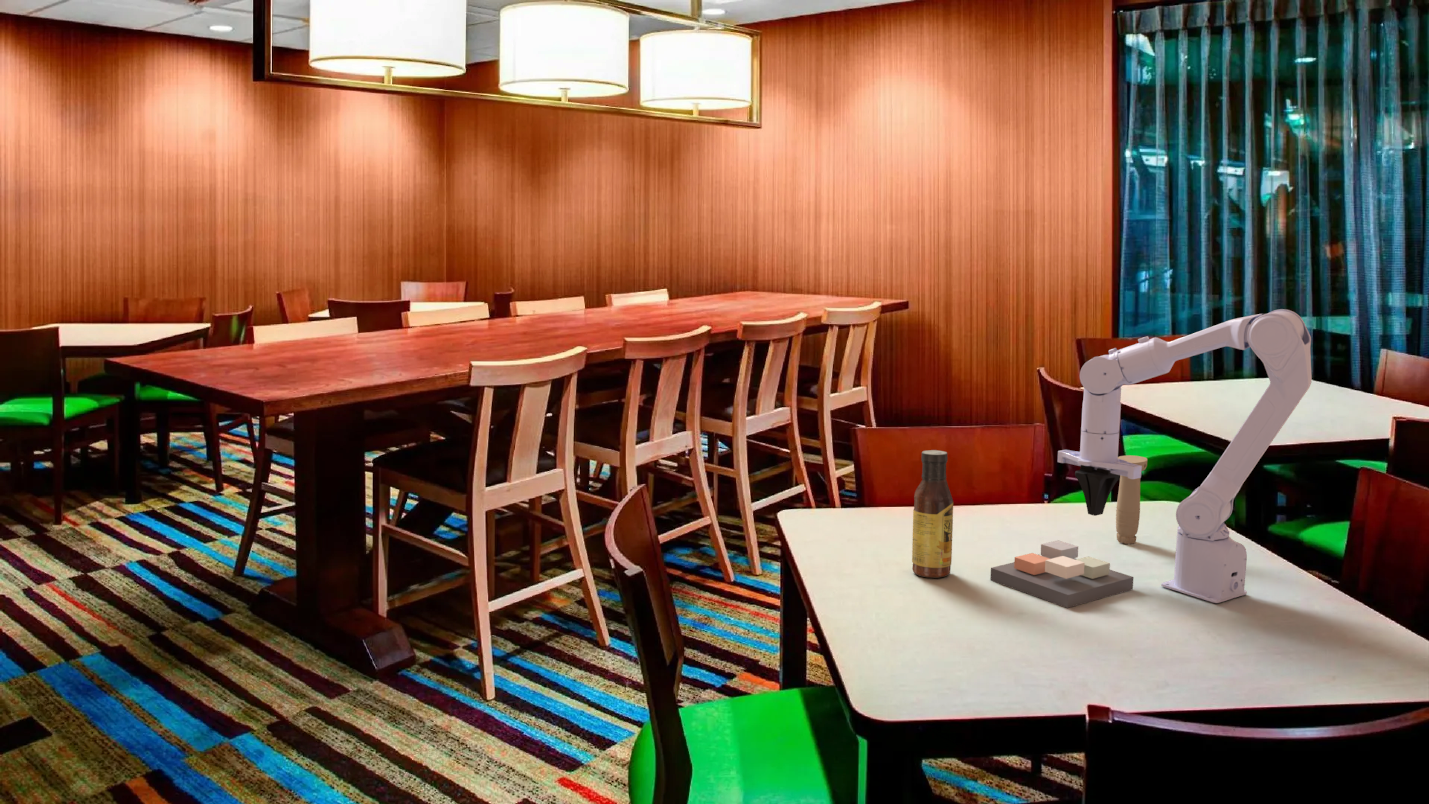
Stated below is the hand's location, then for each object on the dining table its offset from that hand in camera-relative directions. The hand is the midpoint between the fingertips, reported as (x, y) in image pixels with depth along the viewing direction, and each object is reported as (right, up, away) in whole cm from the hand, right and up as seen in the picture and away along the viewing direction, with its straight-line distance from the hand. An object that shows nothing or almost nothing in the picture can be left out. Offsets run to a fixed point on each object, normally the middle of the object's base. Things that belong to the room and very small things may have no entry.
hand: (1095, 514), depth 173 cm
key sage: (-3, -8, -7) cm, 11 cm away
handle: (+11, -7, +17) cm, 22 cm away
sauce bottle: (-26, -10, 0) cm, 28 cm away
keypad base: (-7, -10, -5) cm, 14 cm away
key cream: (-8, -8, -10) cm, 15 cm away
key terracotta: (-12, -8, -5) cm, 15 cm away
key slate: (-6, -7, -2) cm, 9 cm away
